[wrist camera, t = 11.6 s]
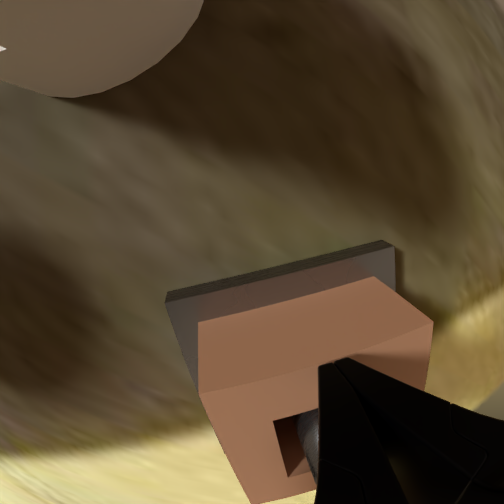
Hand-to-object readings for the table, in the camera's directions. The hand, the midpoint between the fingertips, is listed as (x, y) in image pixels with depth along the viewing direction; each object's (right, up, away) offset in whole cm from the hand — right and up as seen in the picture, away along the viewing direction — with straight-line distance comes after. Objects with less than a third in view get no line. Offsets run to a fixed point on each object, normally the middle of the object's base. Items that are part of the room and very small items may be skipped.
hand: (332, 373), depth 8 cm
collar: (0, -2, +5) cm, 5 cm away
